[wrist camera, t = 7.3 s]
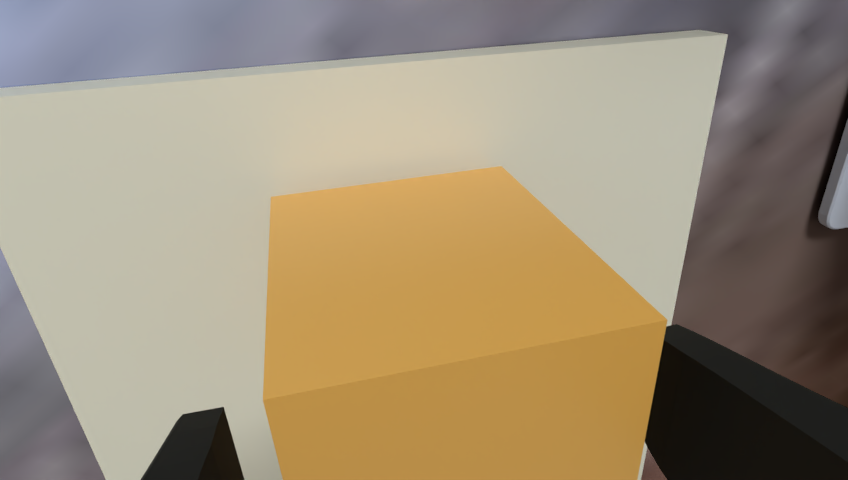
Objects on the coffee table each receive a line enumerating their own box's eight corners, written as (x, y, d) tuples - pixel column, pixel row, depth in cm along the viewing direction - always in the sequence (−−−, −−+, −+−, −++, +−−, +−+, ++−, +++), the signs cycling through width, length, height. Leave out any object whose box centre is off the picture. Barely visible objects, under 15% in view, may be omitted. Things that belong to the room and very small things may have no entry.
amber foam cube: (501, 165, 12) (667, 319, 7) (499, 345, 14) (621, 561, 9) (270, 196, 11) (262, 400, 6) (307, 382, 14) (324, 645, 8)
